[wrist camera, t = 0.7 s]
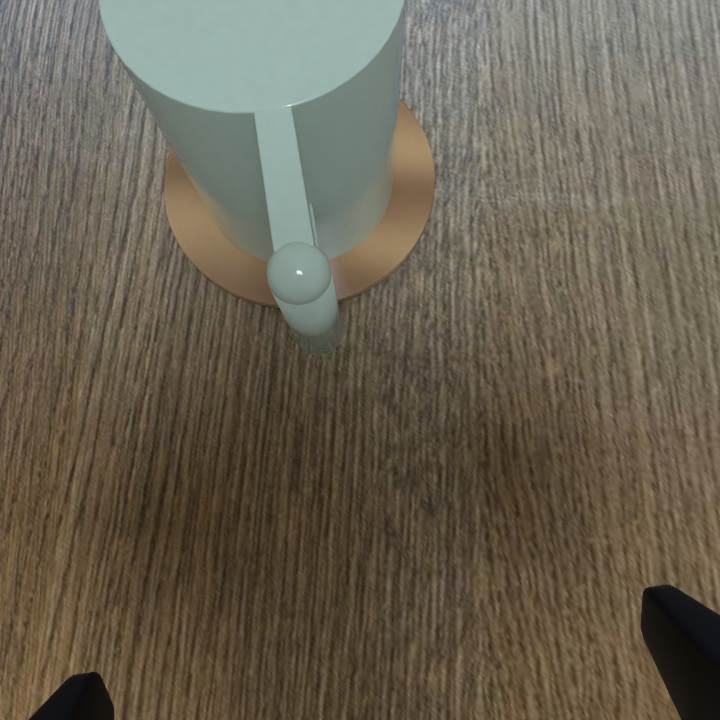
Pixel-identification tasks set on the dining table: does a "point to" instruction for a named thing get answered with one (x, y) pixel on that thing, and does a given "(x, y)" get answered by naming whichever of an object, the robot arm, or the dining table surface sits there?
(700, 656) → the robot arm
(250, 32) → the jug
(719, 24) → the dining table surface
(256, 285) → the coaster
